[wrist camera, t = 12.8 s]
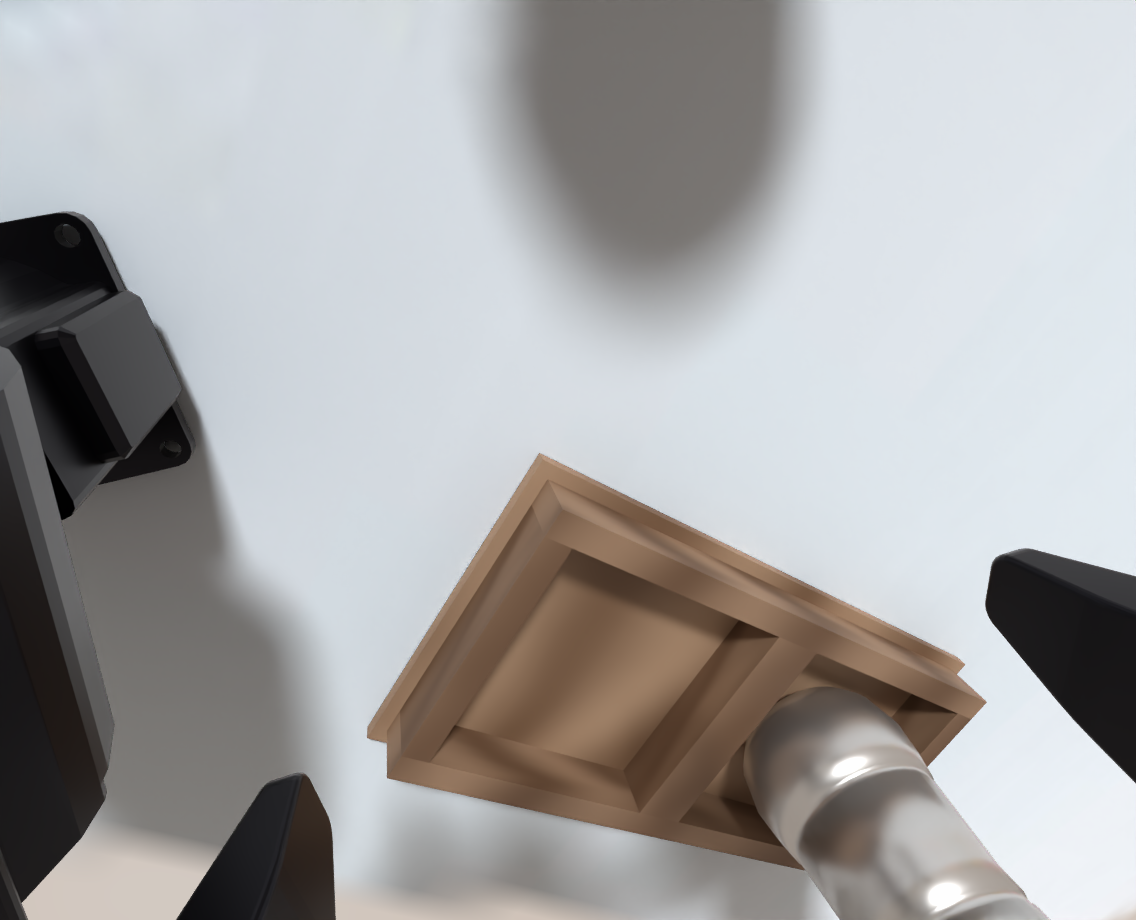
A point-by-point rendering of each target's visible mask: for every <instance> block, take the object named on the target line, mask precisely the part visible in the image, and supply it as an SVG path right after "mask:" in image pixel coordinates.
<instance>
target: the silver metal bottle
mask: <svg viewBox="0 0 1136 920" xmlns="http://www.w3.org/2000/svg"><path fill="white" fill-rule="evenodd" d="M743 771H744V777H745V779H746V782H747V785H748V787H749V790H750V792H751V795H752V798H753V800H754V803H755V806H756V808H757V811H758V813H759V815H760V816H761V817H762V819H763V820H764V821H765V823H766V824H767V825H768V827H769V828H770V829H771V831H772V832H773V833H774V835H775V836H776V837H777V838H778V840H779V841H780V842H781V843H782V845H783V846H784V847H785V848H786V849H787V850H788V852H789V853H790V854H791V855H792V856H793V857H794V858H795V859H796V861H797V862H798V863H799V864H801V865H802V866H803V868H804V869H805V871H806V872H807V873H808V875H809V876H810V878H811V879H812V881H813V882H814V883H815V885H816V886H817V888H818V889H819V891H820V892H821V893H822V895H823V896H824V898H825V899H826V901H827V902H828V903H829V905H830V906H831V908H832V909H833V911H834V912H835V913H836V915H837V916H838V918H839V919H840V920H1050V919H1049V918H1048V917H1047V916H1046V915H1045V914H1044V912H1043V911H1042V910H1041V909H1040V908H1038V907H1037V906H1036V905H1035V904H1033V903H1031V902H1030V901H1029V900H1028V899H1027V897H1026V895H1025V893H1024V891H1023V890H1022V889H1021V888H1020V887H1019V886H1018V885H1017V884H1016V883H1015V882H1014V881H1013V880H1012V879H1011V877H1010V876H1009V875H1008V874H1007V873H1006V872H1005V871H1004V870H1003V869H1002V868H1001V867H1000V866H999V865H998V864H997V862H996V861H995V860H994V858H993V857H992V856H991V854H990V853H989V852H988V850H987V849H986V848H985V847H984V845H983V844H982V843H981V841H980V840H979V839H978V837H977V836H976V835H975V833H974V832H973V831H972V830H971V828H970V827H969V826H968V824H967V823H966V822H965V820H964V819H963V818H962V816H961V815H960V814H959V812H958V811H957V810H956V809H955V807H954V806H953V805H952V803H951V802H950V801H949V799H948V798H947V797H946V795H945V794H944V793H943V792H942V790H941V789H940V788H939V786H938V785H937V784H936V782H935V781H934V779H933V777H932V775H931V773H930V771H929V770H928V768H927V766H926V765H925V763H924V761H923V759H922V758H921V756H920V754H919V753H918V751H917V750H916V748H915V747H914V746H913V744H912V743H911V741H910V740H909V739H908V737H907V736H906V734H905V733H904V732H903V730H902V729H901V727H900V726H899V724H897V723H896V722H895V721H894V720H893V719H892V718H891V717H890V716H888V715H887V714H886V713H885V712H883V711H882V710H881V709H880V708H878V707H877V706H876V705H875V704H873V703H872V702H871V701H870V700H868V699H867V698H866V697H864V696H862V695H860V694H858V693H855V692H851V691H847V690H844V689H840V688H835V687H813V688H808V689H805V690H802V691H798V692H796V693H794V694H791V695H789V696H787V697H785V698H784V699H782V700H780V701H779V702H777V703H776V704H775V705H774V706H773V707H772V709H771V710H770V711H769V712H768V713H767V715H766V716H765V717H764V718H763V720H762V721H761V722H760V723H759V724H758V726H757V727H756V728H755V729H754V731H753V732H752V733H751V734H750V735H749V737H748V738H747V740H746V745H745V751H744V761H743Z"/></svg>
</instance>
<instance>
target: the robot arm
mask: <svg viewBox="0 0 1136 920" xmlns="http://www.w3.org/2000/svg"><path fill="white" fill-rule="evenodd" d="M65 224H68V225H70V226H72V227H74V228H76V230H77V231H78V232H79V233H80V238H81V240H80V242H79V245H73V244H71V243H69V242H67V241H66V240H65V238H64V237H63V235H62V228H63V226H64V225H65ZM181 390H182V389H181V385H180V383H179V381H178V379H177V376H176V374H175V372H174V370H173V368H172V365H171V363H170V361H169V359H168V357H167V354H166V352H165V350H164V348H163V346H162V343H161V341H160V339H159V337H158V334H157V332H156V330H155V328H154V326H153V323H152V321H151V319H150V317H149V315H148V312H147V310H146V308H145V306H144V304H143V301H142V299H141V298H140V297H139V296H137V295H136V294H134V293H132V292H130V291H128V290H125V288H124V286H123V284H122V282H121V280H120V278H119V275H118V273H117V271H116V269H115V267H114V265H113V262H112V260H111V258H110V256H109V254H108V252H107V249H106V247H105V245H104V243H103V241H102V239H101V236H100V234H99V232H98V230H97V228H96V227H95V225H94V224H93V223H92V221H90V220H89V219H88V218H86V217H85V216H84V215H82V214H79V213H76V212H67V211H64V212H58V213H52V214H47V215H41V216H36V217H30V218H25V219H19V220H13V221H8V222H2V223H0V920H28V918H27V916H26V913H25V911H24V908H23V906H22V902H23V901H24V900H25V899H26V898H27V896H28V895H29V894H30V893H31V892H32V891H33V890H34V889H35V888H36V887H37V886H38V885H39V884H40V882H41V881H42V880H43V879H44V878H45V877H46V876H47V875H48V874H49V873H50V872H51V871H52V869H53V868H54V867H55V866H56V865H57V864H58V863H59V862H60V861H61V860H62V859H63V857H64V856H65V855H66V854H67V853H68V852H69V851H70V850H71V849H72V848H73V847H74V845H75V844H76V843H77V842H78V841H79V840H80V839H81V838H82V836H83V835H84V833H85V831H86V830H87V828H88V827H89V825H90V823H91V822H92V820H93V818H94V817H95V815H96V814H97V812H98V810H99V809H100V807H101V805H102V804H103V802H104V801H105V797H106V792H107V791H106V787H105V784H104V780H103V779H104V777H105V774H106V772H107V770H108V766H109V759H110V752H111V745H112V739H113V732H114V721H113V717H112V713H111V709H110V706H109V702H108V698H107V694H106V690H105V686H104V683H103V679H102V675H101V671H100V667H99V663H98V660H97V656H96V652H95V648H94V644H93V640H92V637H91V633H90V629H89V625H88V621H87V617H86V614H85V610H84V606H83V602H82V598H81V594H80V591H79V587H78V583H77V579H76V575H75V571H74V567H73V564H72V560H71V556H70V552H69V548H68V544H67V541H66V537H65V533H64V529H63V525H62V521H61V520H63V519H66V518H68V517H70V516H71V515H72V514H73V513H74V512H75V511H76V510H77V509H78V507H79V506H80V505H81V504H82V503H83V502H84V500H85V499H86V498H87V497H88V496H89V494H90V493H91V492H92V491H93V490H94V489H95V487H96V486H97V485H100V484H104V483H108V482H113V481H117V480H121V479H125V478H129V477H134V476H138V475H142V474H146V473H150V472H155V471H159V470H163V469H167V468H171V467H176V466H179V465H182V464H184V463H186V462H187V460H188V459H189V458H190V457H191V455H192V454H193V452H194V449H195V441H194V438H193V436H192V434H191V431H190V429H189V427H188V425H187V423H186V421H185V418H184V416H183V414H182V412H181V410H180V408H179V405H178V403H177V401H176V399H177V397H178V396H179V394H180V392H181ZM165 441H174V442H176V443H178V444H179V445H180V447H181V451H180V452H172V451H170V450H168V449H167V448H166V447H165V445H164V442H165ZM985 606H986V611H987V614H988V616H989V618H990V620H991V621H992V623H993V624H994V625H995V627H996V628H997V629H998V630H999V631H1000V633H1001V634H1002V635H1003V636H1004V637H1005V639H1006V640H1007V641H1008V642H1009V643H1010V645H1011V646H1012V647H1013V648H1014V649H1015V651H1016V652H1017V653H1018V654H1019V655H1020V657H1021V658H1022V659H1023V660H1024V661H1025V663H1026V664H1027V665H1028V666H1029V667H1030V669H1031V670H1032V671H1033V672H1034V674H1035V675H1036V676H1037V677H1038V678H1039V680H1040V681H1041V682H1042V683H1043V684H1044V686H1045V687H1046V688H1047V689H1048V690H1049V692H1050V693H1051V694H1052V695H1053V696H1054V698H1055V699H1056V700H1057V701H1058V702H1059V704H1060V705H1061V706H1062V707H1063V708H1064V709H1065V710H1066V712H1067V713H1068V714H1069V715H1070V716H1071V717H1072V718H1073V720H1074V721H1075V722H1076V723H1077V724H1078V725H1079V726H1080V727H1081V728H1082V729H1083V730H1084V731H1085V732H1086V733H1087V734H1088V735H1089V736H1090V737H1091V738H1092V740H1093V741H1094V742H1095V743H1096V744H1097V745H1098V746H1099V747H1100V748H1101V749H1102V750H1103V751H1104V752H1105V753H1106V754H1107V755H1108V756H1109V757H1110V758H1111V759H1112V760H1113V761H1114V762H1115V763H1116V764H1117V765H1118V766H1119V767H1120V768H1121V769H1122V770H1123V771H1124V772H1125V773H1126V774H1127V775H1128V776H1129V777H1130V778H1131V779H1132V780H1133V781H1134V782H1135V783H1136V576H1132V575H1128V574H1125V573H1121V572H1117V571H1113V570H1109V569H1106V568H1102V567H1098V566H1094V565H1090V564H1087V563H1083V562H1079V561H1075V560H1072V559H1068V558H1064V557H1060V556H1056V555H1053V554H1049V553H1045V552H1041V551H1037V550H1034V549H1027V548H1024V549H1018V550H1015V551H1012V552H1009V553H1005V554H1002V555H999V556H998V557H996V558H995V559H994V561H993V562H992V566H991V571H990V577H989V583H988V589H987V595H986V601H985ZM176 920H336V916H335V890H334V864H333V839H332V829H331V824H330V821H329V817H328V815H327V813H326V811H325V809H324V807H323V805H322V803H321V801H320V799H319V797H318V795H317V793H316V791H315V789H314V787H313V785H312V783H311V781H310V779H309V778H308V776H307V775H305V774H304V773H295V774H292V775H289V776H285V777H282V778H279V779H276V780H273V781H270V782H268V783H267V784H266V785H265V786H264V787H263V788H262V789H261V790H260V792H259V793H258V795H257V796H256V798H255V800H254V801H253V803H252V804H251V806H250V807H249V809H248V810H247V812H246V813H245V815H244V816H243V818H242V819H241V821H240V823H239V824H238V826H237V827H236V829H235V830H234V832H233V833H232V835H231V836H230V838H229V839H228V841H227V842H226V844H225V846H224V847H223V849H222V850H221V852H220V853H219V855H218V856H217V858H216V859H215V861H214V862H213V864H212V865H211V867H210V869H209V870H208V872H207V873H206V875H205V876H204V878H203V879H202V881H201V882H200V884H199V886H198V887H197V888H196V890H195V892H194V893H193V895H192V896H191V898H190V899H189V901H188V902H187V904H186V906H185V907H184V908H183V910H182V912H181V913H180V915H179V916H178V918H177V919H176Z"/></svg>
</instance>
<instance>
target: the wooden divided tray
mask: <svg viewBox="0 0 1136 920" xmlns="http://www.w3.org/2000/svg"><path fill="white" fill-rule="evenodd" d="M964 666H965V664H964V663H963V662H962V661H961V660H960V659H958V658H957V657H956V656H954V655H952V654H949V653H947V652H945V651H943V650H941V649H939V648H937V647H935V646H933V645H931V644H929V643H927V642H925V641H923V640H921V639H919V638H917V637H915V636H913V635H911V634H909V633H907V632H904V631H902V630H900V629H898V628H896V627H894V626H892V625H890V624H888V623H886V622H884V621H882V620H880V619H878V618H876V617H874V616H872V615H870V614H868V613H866V612H864V611H861V610H859V609H857V608H855V607H853V606H851V605H849V604H847V603H845V602H843V601H841V600H839V599H837V598H835V597H833V596H831V595H829V594H827V593H825V592H823V591H821V590H819V589H816V588H814V587H812V586H810V585H808V584H806V583H804V582H802V581H800V580H798V579H796V578H794V577H792V576H790V575H788V574H786V573H784V572H782V571H780V570H778V569H776V568H773V567H771V566H769V565H767V564H765V563H763V562H761V561H759V560H757V559H755V558H753V557H751V556H749V555H747V554H745V553H743V552H741V551H739V550H737V549H735V548H733V547H731V546H728V545H726V544H724V543H722V542H720V541H718V540H716V539H714V538H712V537H710V536H708V535H706V534H704V533H702V532H700V531H698V530H696V529H694V528H692V527H690V526H688V525H685V524H683V523H681V522H679V521H677V520H675V519H673V518H671V517H669V516H667V515H665V514H663V513H661V512H659V511H657V510H655V509H653V508H651V507H649V506H647V505H645V504H642V503H640V502H638V501H636V500H634V499H632V498H630V497H628V496H626V495H624V494H622V493H620V492H618V491H616V490H614V489H612V488H610V487H608V486H606V485H604V484H602V483H600V482H597V481H595V480H593V479H591V478H589V477H587V476H585V475H583V474H581V473H579V472H577V471H575V470H573V469H571V468H569V467H567V466H565V465H563V464H561V463H559V462H557V461H554V460H552V459H550V458H548V457H546V456H544V455H542V454H540V453H539V455H538V456H537V458H536V459H535V461H534V463H533V464H532V466H531V467H530V469H529V471H528V472H527V474H526V475H525V477H524V478H523V480H522V482H521V483H520V485H519V486H518V488H517V490H516V491H515V493H514V494H513V496H512V498H511V499H510V501H509V502H508V504H507V506H506V507H505V509H504V510H503V512H502V514H501V515H500V517H499V518H498V520H497V522H496V523H495V525H494V526H493V528H492V529H491V531H490V533H489V534H488V536H487V537H486V539H485V541H484V542H483V544H482V545H481V547H480V549H479V550H478V552H477V553H476V555H475V557H474V558H473V560H472V561H471V563H470V565H469V566H468V568H467V569H466V571H465V573H464V574H463V576H462V577H461V579H460V581H459V582H458V584H457V585H456V587H455V588H454V590H453V592H452V593H451V595H450V596H449V598H448V600H447V601H446V603H445V604H444V606H443V608H442V609H441V611H440V612H439V614H438V616H437V617H436V619H435V620H434V622H433V624H432V625H431V627H430V628H429V630H428V632H427V633H426V635H425V636H424V638H423V639H422V641H421V643H420V644H419V646H418V647H417V649H416V651H415V652H414V654H413V655H412V657H411V659H410V660H409V662H408V663H407V665H406V667H405V668H404V670H403V671H402V673H401V675H400V676H399V678H398V679H397V681H396V683H395V684H394V686H393V687H392V689H391V691H390V692H389V694H388V695H387V697H386V698H385V700H384V702H383V703H382V705H381V706H380V708H379V710H378V711H377V713H376V714H375V716H374V718H373V719H372V721H371V722H370V724H369V726H368V728H367V738H369V739H373V740H377V741H382V742H386V743H387V778H389V779H393V780H398V781H402V782H407V783H412V784H416V785H421V786H425V787H430V788H434V789H439V790H443V791H448V792H452V793H457V794H461V795H466V796H470V797H475V798H479V799H484V800H488V801H493V802H498V803H502V804H507V805H511V806H516V807H520V808H525V809H529V810H534V811H538V812H543V813H547V814H552V815H556V816H561V817H565V818H570V819H574V820H579V821H584V822H588V823H593V824H597V825H602V826H606V827H611V828H615V829H620V830H624V831H629V832H633V833H638V834H642V835H647V836H651V837H656V838H660V839H665V840H670V841H674V842H679V843H683V844H688V845H692V846H697V847H701V848H706V849H710V850H715V851H719V852H724V853H728V854H733V855H737V856H742V857H746V858H751V859H756V860H760V861H765V862H769V863H774V864H778V865H783V866H787V867H792V868H796V869H801V870H805V869H804V868H803V866H802V865H801V864H799V863H798V862H797V861H796V859H795V858H794V857H793V856H792V855H791V854H790V853H789V852H788V850H787V849H786V848H785V847H784V846H783V845H782V843H781V842H780V841H779V840H778V838H777V837H776V836H775V835H774V833H773V832H772V831H771V829H770V828H769V827H768V825H767V824H766V823H765V821H764V820H763V819H762V817H761V816H760V815H759V813H758V811H757V808H756V806H755V803H754V800H753V798H752V795H751V792H750V790H749V787H748V785H747V782H746V779H745V777H744V771H743V761H744V751H745V745H746V740H747V738H748V737H749V735H750V734H751V733H752V732H753V731H754V729H755V728H756V727H757V726H758V724H759V723H760V722H761V721H762V720H763V718H764V717H765V716H766V715H767V713H768V712H769V711H770V710H771V709H772V707H773V706H774V705H775V704H776V703H777V702H779V701H780V700H782V699H784V698H785V697H787V696H789V695H791V694H794V693H796V692H798V691H802V690H805V689H808V688H813V687H835V688H840V689H844V690H847V691H851V692H855V693H858V694H860V695H862V696H864V697H866V698H867V699H868V700H870V701H871V702H872V703H873V704H875V705H876V706H877V707H878V708H880V709H881V710H882V711H883V712H885V713H886V714H887V715H888V716H890V717H891V718H892V719H893V720H894V721H895V722H896V723H897V724H899V726H900V727H901V729H902V730H903V732H904V733H905V734H906V736H907V737H908V739H909V740H910V741H911V743H912V744H913V746H914V747H915V748H916V750H917V751H918V753H919V754H920V756H921V758H922V759H923V761H924V763H925V765H926V766H927V767H928V765H929V764H930V763H931V762H932V761H933V760H934V759H935V758H936V757H937V756H938V755H939V754H940V752H941V751H942V750H943V749H944V748H945V747H946V746H947V745H948V744H949V743H950V742H951V741H952V739H953V738H954V737H955V736H956V735H957V734H958V733H959V732H960V731H961V730H962V729H963V728H964V726H965V725H966V724H967V723H968V722H969V721H970V720H971V719H972V718H973V717H974V716H975V715H976V713H977V712H978V711H979V710H980V709H981V708H982V707H983V706H984V705H985V704H986V703H987V702H986V701H985V700H984V699H983V698H982V697H981V696H980V695H979V694H977V693H976V692H975V691H974V690H973V689H972V688H971V687H970V686H969V685H968V684H967V683H966V682H964V681H963V680H962V679H961V678H960V677H959V676H958V675H957V673H958V672H959V671H960V670H961V669H962V668H963V667H964Z"/></svg>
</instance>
